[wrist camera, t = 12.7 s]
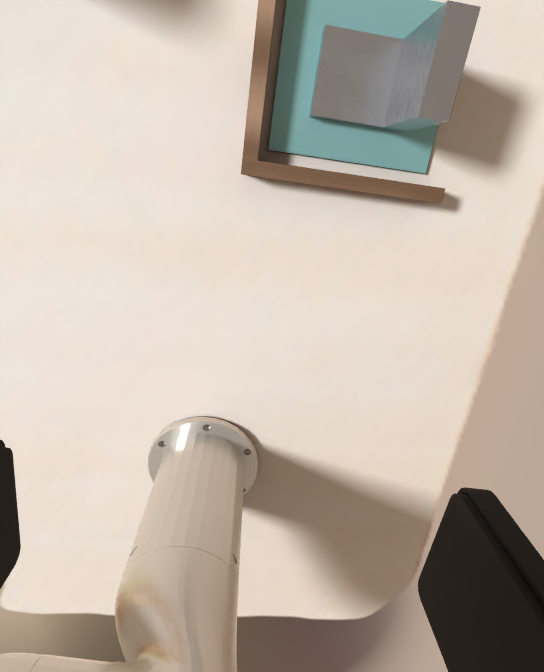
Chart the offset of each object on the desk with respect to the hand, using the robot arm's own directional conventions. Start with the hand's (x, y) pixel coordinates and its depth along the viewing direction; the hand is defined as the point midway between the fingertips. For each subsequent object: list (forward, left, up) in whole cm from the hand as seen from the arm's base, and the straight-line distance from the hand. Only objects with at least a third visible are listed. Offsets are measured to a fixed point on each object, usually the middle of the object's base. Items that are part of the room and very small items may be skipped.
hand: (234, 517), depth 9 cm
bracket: (+14, -7, -32) cm, 36 cm away
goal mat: (+14, -7, -32) cm, 36 cm away
